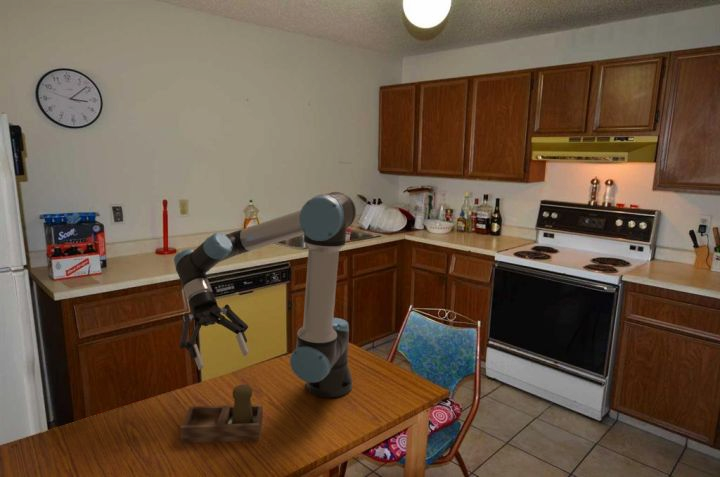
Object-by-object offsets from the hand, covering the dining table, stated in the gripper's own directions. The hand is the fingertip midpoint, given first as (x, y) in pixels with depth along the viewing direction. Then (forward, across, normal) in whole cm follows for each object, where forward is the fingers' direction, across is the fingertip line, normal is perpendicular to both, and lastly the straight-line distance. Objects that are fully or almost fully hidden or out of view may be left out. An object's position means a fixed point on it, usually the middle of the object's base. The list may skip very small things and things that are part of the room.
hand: (224, 360), depth 129 cm
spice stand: (+17, +4, -7) cm, 19 cm away
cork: (+18, 0, -4) cm, 18 cm away
